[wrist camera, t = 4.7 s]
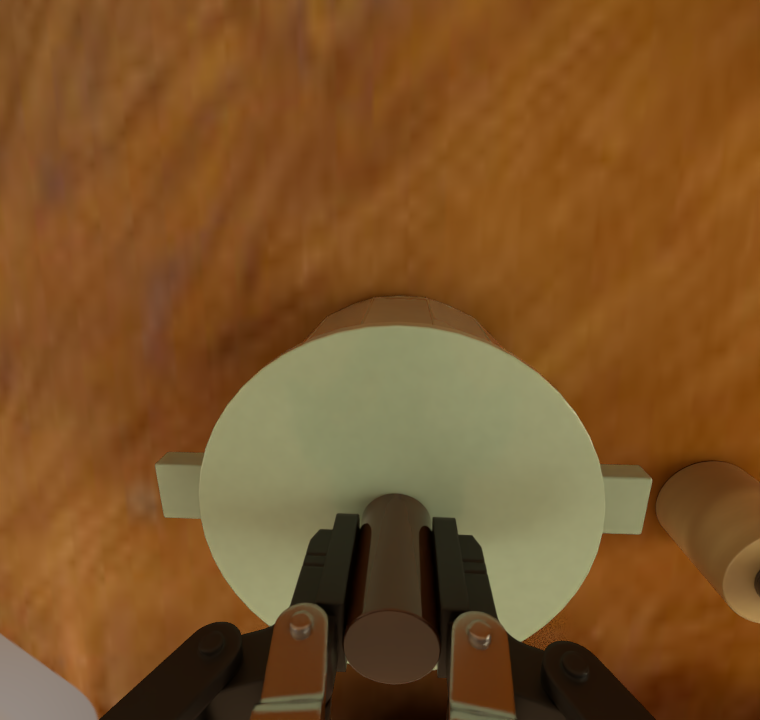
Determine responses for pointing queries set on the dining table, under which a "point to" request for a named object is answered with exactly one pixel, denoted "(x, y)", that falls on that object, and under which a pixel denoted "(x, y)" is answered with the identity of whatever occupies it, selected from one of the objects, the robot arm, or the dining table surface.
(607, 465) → the pot
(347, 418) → the lid
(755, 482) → the rubber stamp
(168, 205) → the dining table surface
